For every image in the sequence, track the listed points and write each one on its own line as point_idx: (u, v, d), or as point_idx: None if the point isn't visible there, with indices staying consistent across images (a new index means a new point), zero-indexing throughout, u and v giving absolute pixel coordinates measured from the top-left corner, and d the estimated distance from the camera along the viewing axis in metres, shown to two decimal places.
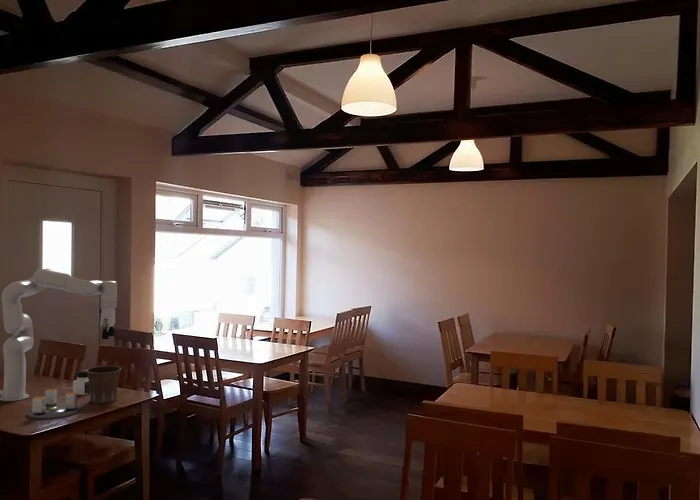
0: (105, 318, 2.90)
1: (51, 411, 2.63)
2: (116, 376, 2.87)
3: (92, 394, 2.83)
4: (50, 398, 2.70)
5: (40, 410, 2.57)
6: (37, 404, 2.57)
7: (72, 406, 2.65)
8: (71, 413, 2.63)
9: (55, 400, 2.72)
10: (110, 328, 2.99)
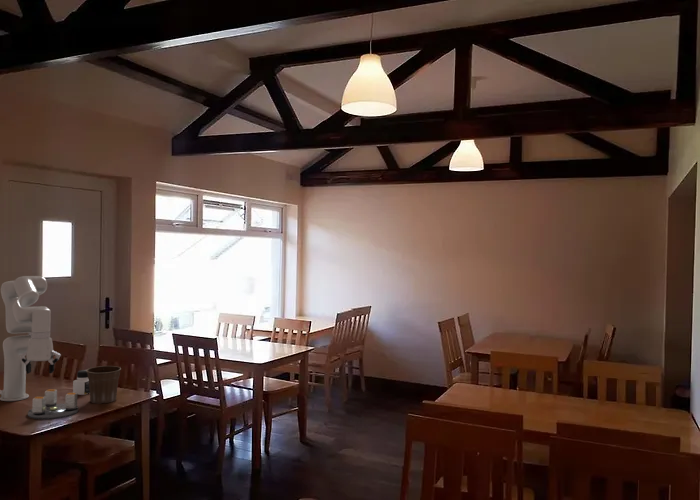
0: (52, 349, 2.59)
1: (51, 411, 2.63)
2: (116, 376, 2.87)
3: (92, 394, 2.83)
4: (50, 398, 2.70)
5: (40, 410, 2.57)
6: (37, 404, 2.57)
7: (72, 406, 2.65)
8: (71, 413, 2.63)
9: (55, 400, 2.72)
10: (29, 364, 2.58)
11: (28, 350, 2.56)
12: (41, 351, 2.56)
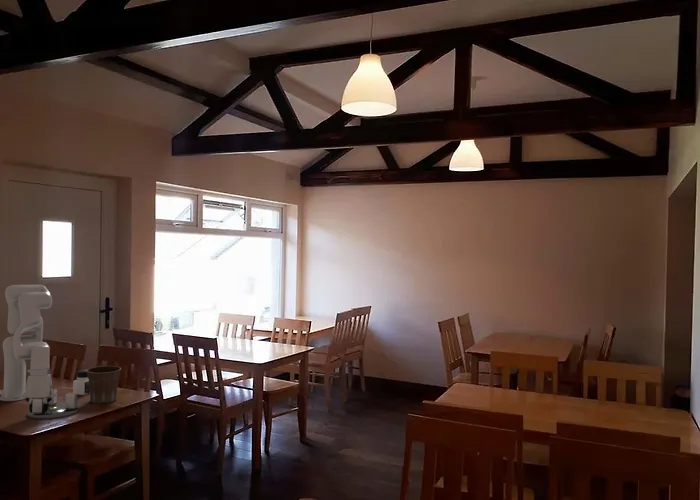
0: (51, 386, 2.59)
1: (51, 411, 2.63)
2: (116, 376, 2.87)
3: (92, 394, 2.83)
4: None
5: (40, 410, 2.57)
6: (37, 404, 2.57)
7: (72, 406, 2.65)
8: (71, 413, 2.63)
9: (55, 400, 2.72)
10: None
11: (27, 387, 2.56)
12: (40, 388, 2.56)
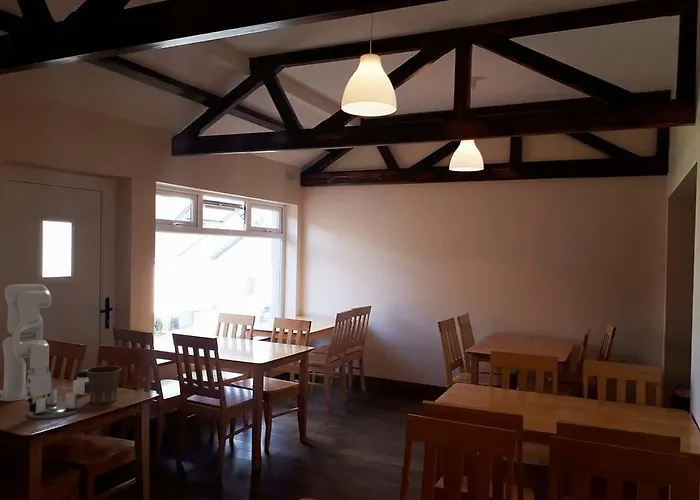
0: None
1: (51, 411, 2.63)
2: (116, 376, 2.87)
3: (92, 394, 2.83)
4: (50, 398, 2.70)
5: (44, 409, 2.59)
6: (41, 404, 2.58)
7: (72, 406, 2.65)
8: (71, 413, 2.63)
9: (55, 400, 2.72)
10: None
11: (34, 387, 2.54)
12: (45, 385, 2.59)
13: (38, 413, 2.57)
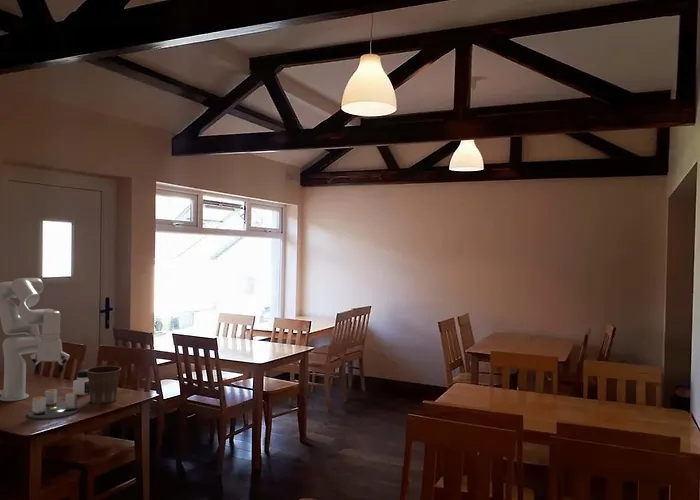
0: (61, 350, 2.71)
1: (51, 411, 2.63)
2: (116, 376, 2.87)
3: (92, 394, 2.83)
4: (50, 398, 2.70)
5: (44, 409, 2.59)
6: (41, 404, 2.58)
7: (72, 406, 2.65)
8: (71, 413, 2.63)
9: (55, 400, 2.72)
10: (39, 364, 2.70)
11: (38, 351, 2.67)
12: (51, 352, 2.68)
13: (38, 413, 2.57)
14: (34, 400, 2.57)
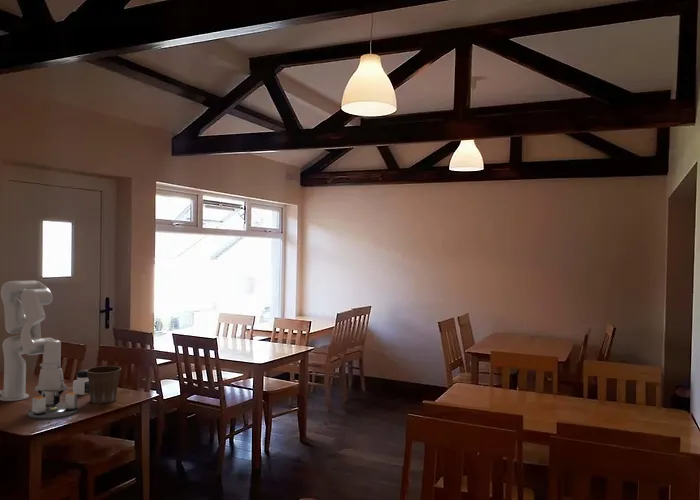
0: (62, 379, 2.73)
1: (51, 411, 2.63)
2: (116, 376, 2.87)
3: (92, 394, 2.83)
4: (50, 398, 2.70)
5: (44, 409, 2.59)
6: (41, 404, 2.58)
7: (72, 406, 2.65)
8: (71, 413, 2.63)
9: None
10: None
11: (40, 380, 2.69)
12: (52, 381, 2.70)
13: (38, 413, 2.57)
14: (34, 400, 2.57)
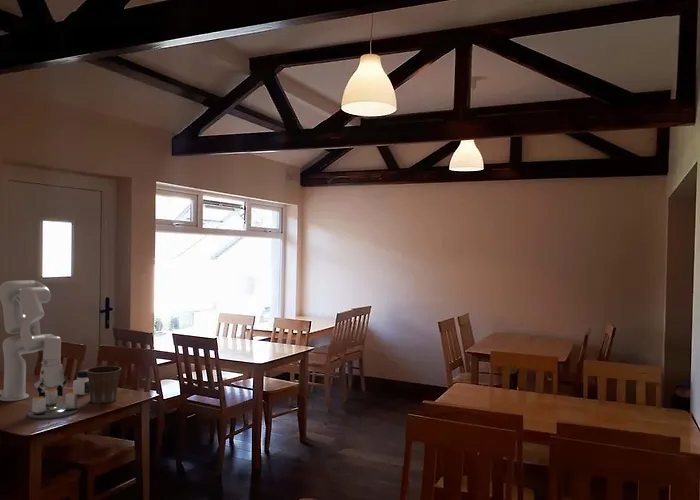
0: None
1: (51, 411, 2.63)
2: (116, 376, 2.87)
3: (92, 394, 2.83)
4: (54, 397, 2.71)
5: (44, 409, 2.59)
6: (41, 404, 2.58)
7: (72, 406, 2.65)
8: (71, 413, 2.63)
9: None
10: None
11: (47, 377, 2.67)
12: (58, 376, 2.72)
13: (38, 413, 2.57)
14: (34, 400, 2.57)
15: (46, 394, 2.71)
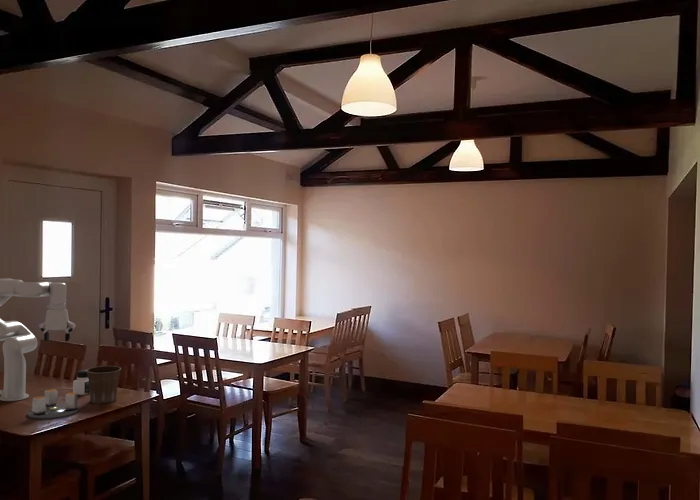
0: (68, 320, 2.86)
1: (51, 411, 2.63)
2: (116, 376, 2.87)
3: (92, 394, 2.83)
4: (54, 397, 2.71)
5: (44, 409, 2.59)
6: (41, 404, 2.58)
7: (72, 406, 2.65)
8: (71, 413, 2.63)
9: None
10: (47, 332, 2.85)
11: (46, 320, 2.83)
12: (58, 321, 2.83)
13: (38, 413, 2.57)
14: (34, 400, 2.57)
15: (46, 394, 2.71)
